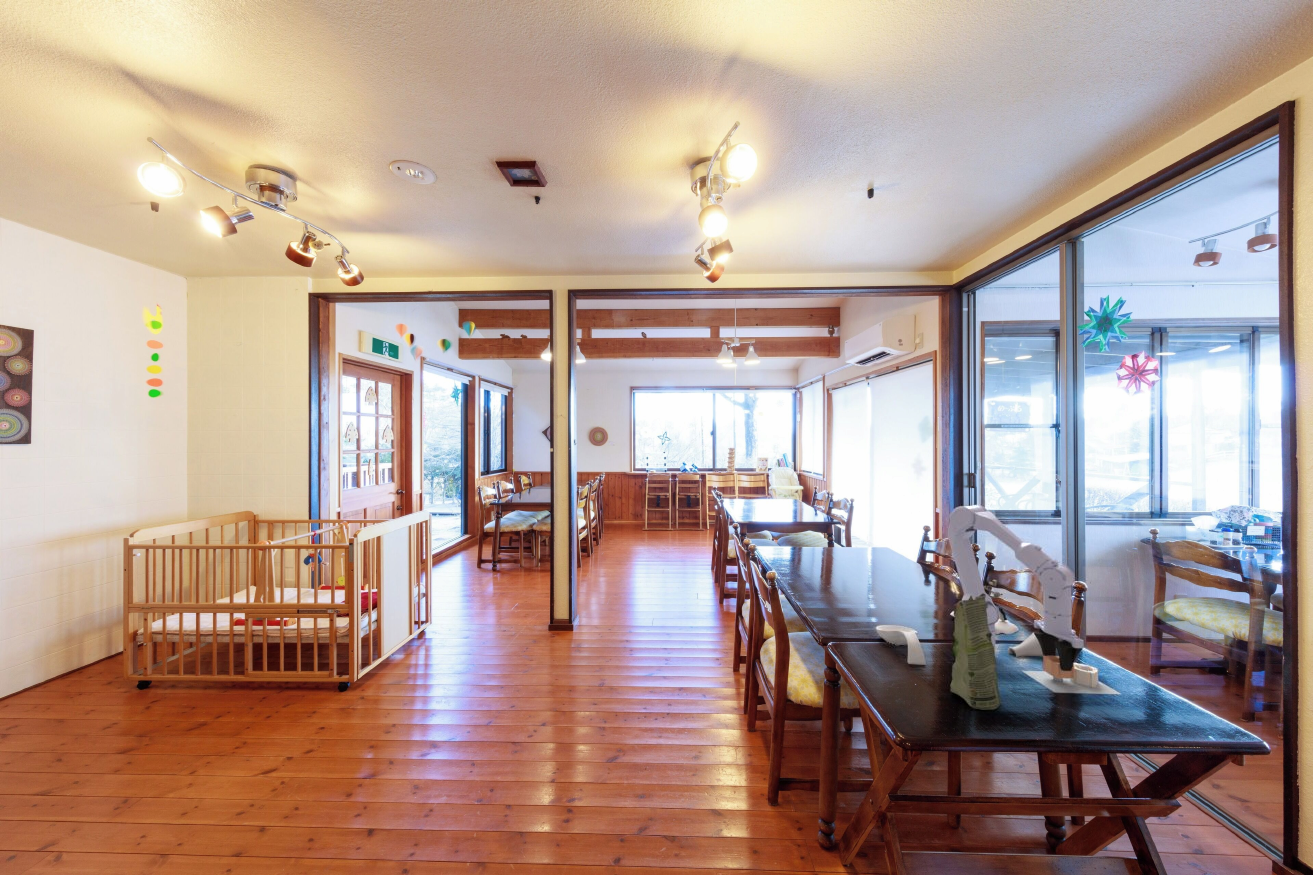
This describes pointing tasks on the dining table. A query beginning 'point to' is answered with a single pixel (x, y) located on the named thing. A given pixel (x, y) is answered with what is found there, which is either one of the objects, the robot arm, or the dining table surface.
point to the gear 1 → (1056, 668)
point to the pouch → (974, 655)
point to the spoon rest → (903, 641)
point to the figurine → (1002, 623)
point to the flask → (1027, 647)
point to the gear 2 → (1085, 676)
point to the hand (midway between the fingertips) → (1057, 665)
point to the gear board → (1069, 683)
